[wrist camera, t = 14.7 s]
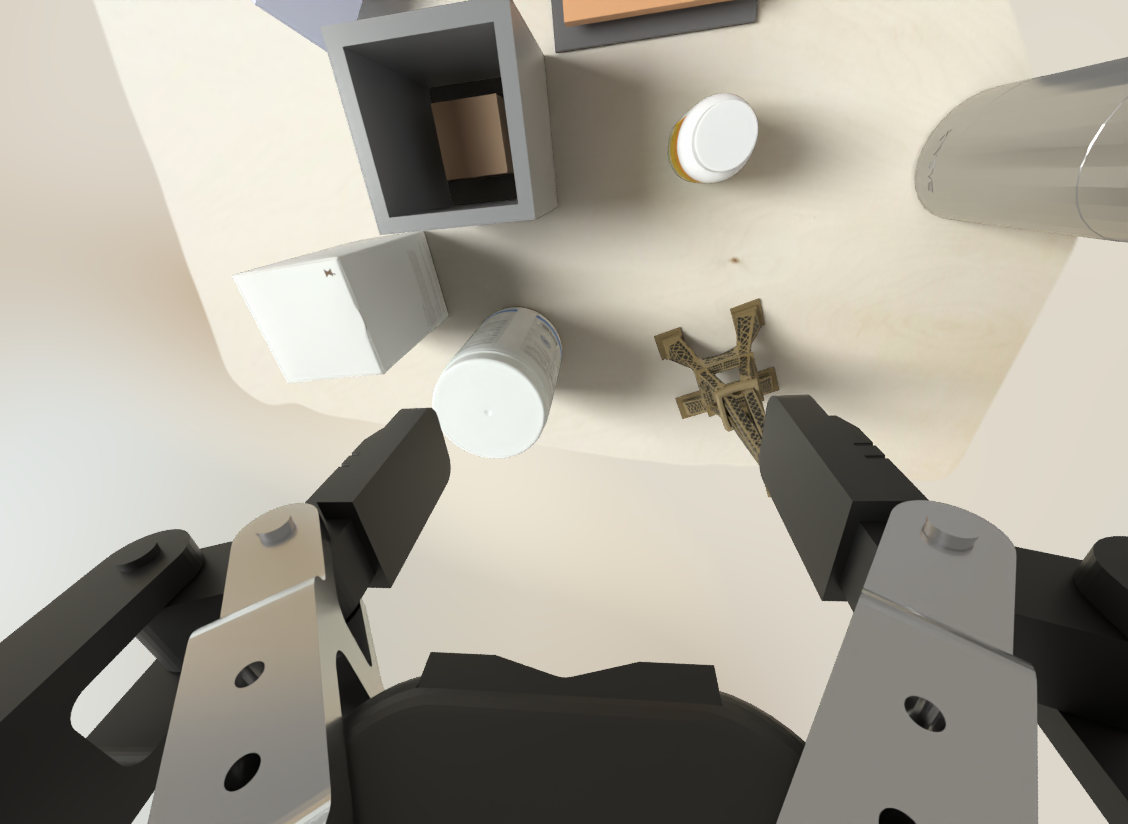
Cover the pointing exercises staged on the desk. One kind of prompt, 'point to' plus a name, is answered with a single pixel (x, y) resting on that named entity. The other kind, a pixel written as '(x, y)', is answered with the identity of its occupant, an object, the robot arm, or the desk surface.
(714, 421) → the desk surface
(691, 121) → the supplement bottle
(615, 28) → the rubber mat
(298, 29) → the wedge on round base
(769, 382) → the eiffel tower
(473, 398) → the supplement tub
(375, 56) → the storage box
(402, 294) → the supplement box
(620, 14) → the lid
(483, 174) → the walnut block
